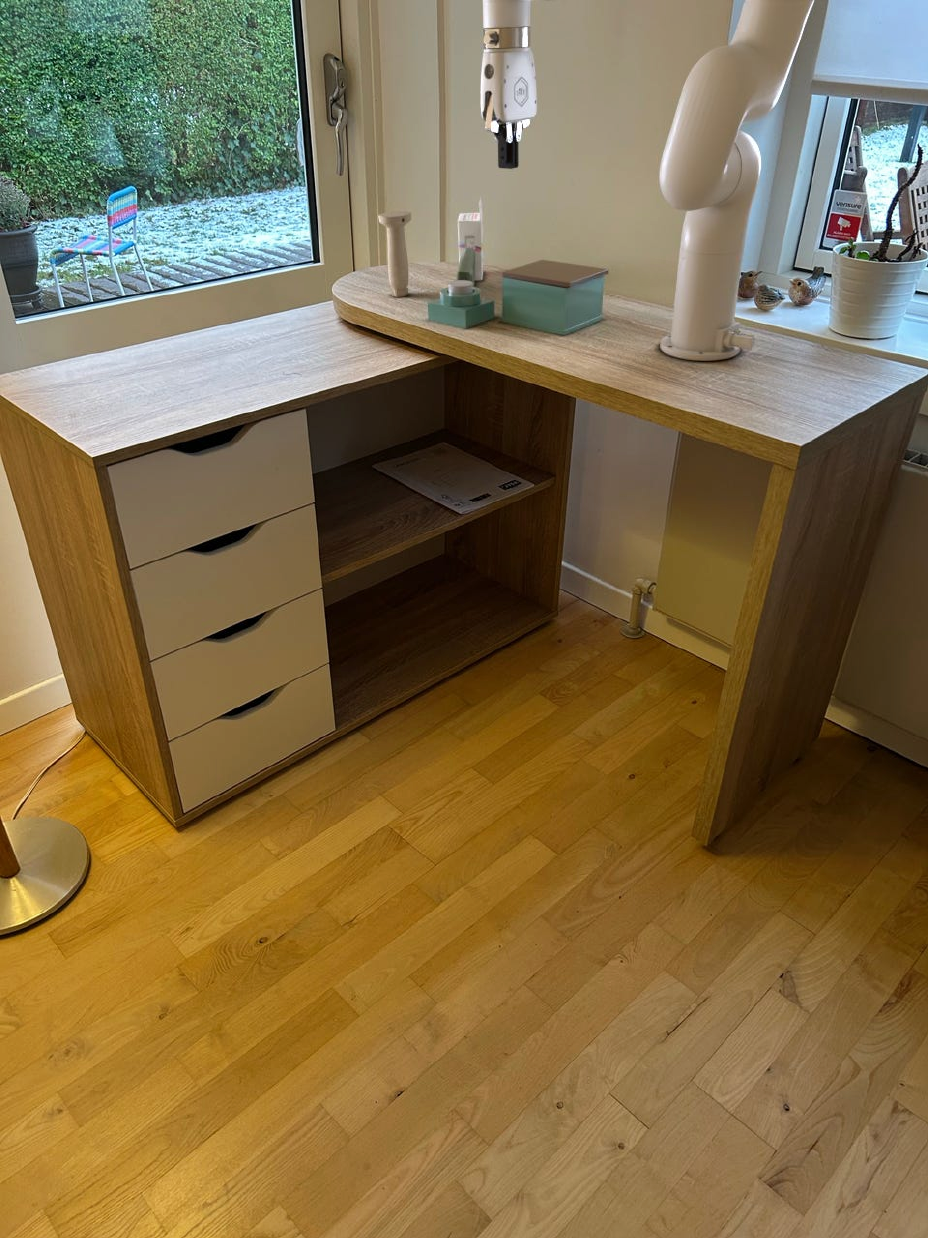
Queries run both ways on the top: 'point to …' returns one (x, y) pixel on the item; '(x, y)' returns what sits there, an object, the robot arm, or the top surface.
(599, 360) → the top surface
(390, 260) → the handle
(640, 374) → the top surface
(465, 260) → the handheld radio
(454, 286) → the flush button
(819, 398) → the top surface
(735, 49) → the robot arm
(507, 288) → the teal bin
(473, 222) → the ink cartridge box
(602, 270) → the brown rectangular panel
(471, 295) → the flush button base
